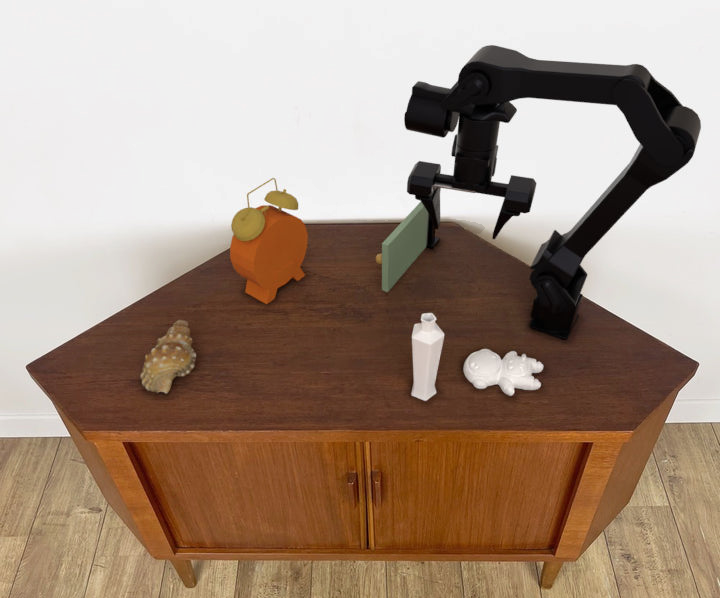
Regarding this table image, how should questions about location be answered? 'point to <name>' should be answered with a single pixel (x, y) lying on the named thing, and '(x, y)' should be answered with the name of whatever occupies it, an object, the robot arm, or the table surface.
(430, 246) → the door post
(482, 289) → the table surface
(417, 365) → the perfume bottle
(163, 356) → the seashell
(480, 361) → the astronaut figurine
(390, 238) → the green flat slab
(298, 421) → the table surface
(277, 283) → the alarm clock
